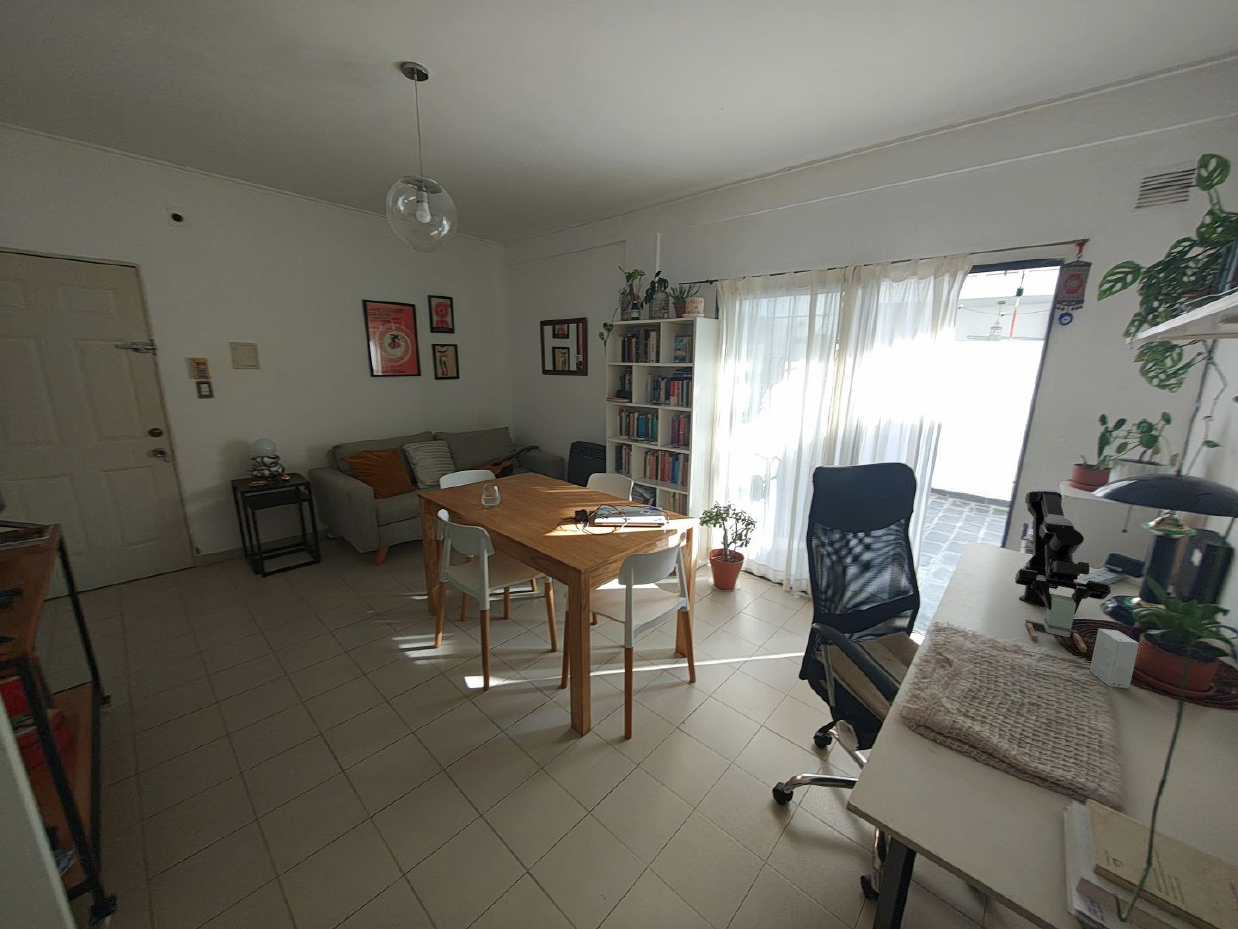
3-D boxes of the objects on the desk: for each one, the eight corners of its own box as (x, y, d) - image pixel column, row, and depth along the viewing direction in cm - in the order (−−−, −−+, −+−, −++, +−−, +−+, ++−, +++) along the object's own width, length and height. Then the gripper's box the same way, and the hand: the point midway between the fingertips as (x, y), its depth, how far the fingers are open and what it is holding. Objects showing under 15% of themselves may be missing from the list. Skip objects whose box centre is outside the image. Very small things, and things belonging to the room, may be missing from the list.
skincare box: (1130, 689, 106) (1140, 643, 104) (1108, 687, 107) (1118, 641, 105) (1108, 673, 112) (1117, 629, 110) (1088, 671, 113) (1097, 627, 111)
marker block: (1043, 625, 129) (1049, 593, 127) (1065, 630, 127) (1071, 597, 125) (1047, 632, 126) (1053, 599, 124) (1069, 637, 123) (1076, 604, 121)
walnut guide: (1025, 625, 134) (1026, 619, 134) (1076, 636, 128) (1077, 631, 128) (1031, 640, 126) (1032, 634, 126) (1085, 653, 120) (1087, 647, 120)
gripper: (1023, 542, 130) (1024, 592, 123) (1115, 556, 120) (1122, 611, 113) (1014, 558, 138) (1014, 606, 131) (1100, 573, 128) (1105, 625, 121)
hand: (1061, 611), depth 124 cm, fingers closed on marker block, 4 cm apart
